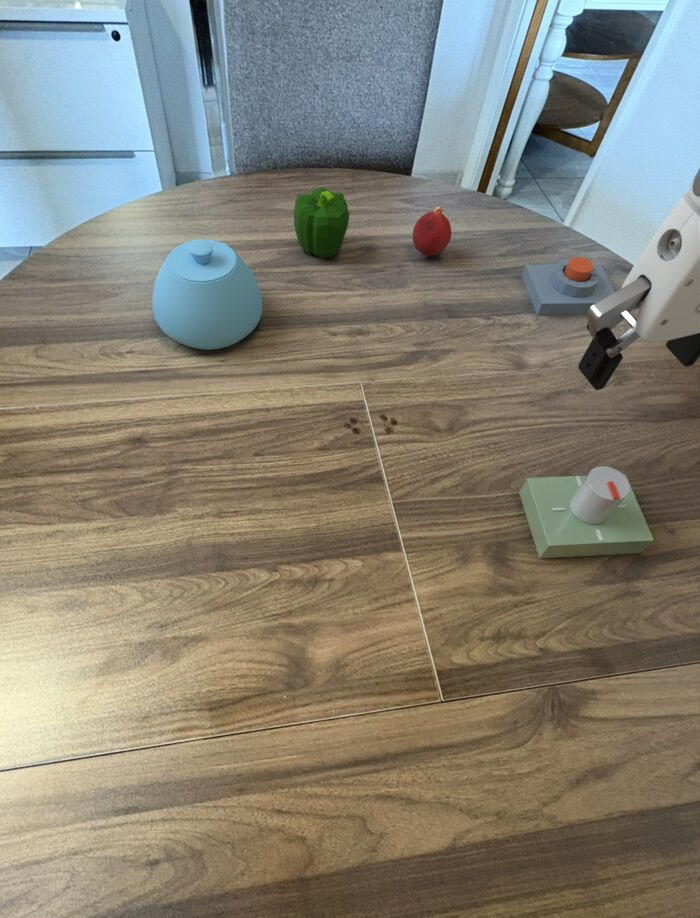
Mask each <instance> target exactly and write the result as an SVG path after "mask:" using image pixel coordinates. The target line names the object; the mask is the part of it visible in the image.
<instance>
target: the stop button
mask: <svg viewBox="0 0 700 918" xmlns="http://www.w3.org/2000/svg"><path fill="white" fill-rule="evenodd" d="M569 259H570V260H569V262H568V264H567V266H566V268H565V271H564V274H565V276H566V277H568V278H569V279H570V280H573V281H576V282H585V281H587V280H588V278H589V276H590V274H591V272H592V270H593V264H594V263H592V262H591V261H590V260H589V259H587V258H584V257H581V256H574V257H571V258H569Z"/></svg>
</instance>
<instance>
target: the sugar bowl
mask: <svg viewBox="0 0 700 918" xmlns="http://www.w3.org/2000/svg"><path fill="white" fill-rule="evenodd" d="M262 298H263V297H262V294H261V289H260V287H259V284H258V281H257V280H256V277H255V275H254V274H253V272H252V271H251V269H250V267H249V266H248V265H247V264H246V262H245V261H244V260H243V259H242V258H241V256H240V255H239V254H238V253H237V252H236V251H235V250H233V248H232V247H230V246H229V245H227V244H226V243H224V242H221V241H219V240H215V239H209V238H208V239H207V238H201V239H200V238H198V239H192V240H188V241H185V242H183V243H181V244H179V245H177V246H175V247H174V248H173V249H172V250H171V251H170V252H169V253H168V255H167V257H166V258H165V260H164V262H163V263H162V265H161V267H160V269H159V271H158V273H157V275H156V278H155V281H154V285H153V289H152V298H151V299H152V300H151V301H152V306H151V307H152V313H153V317H154V321H155V323H156V324H157V325H158V327H159V329H160V330H162V332H163V333H164V334H165V335H167V336H168V337H169V338H171V339H172V340H173V341H175V342H177V343H179V344H181V345H183V346H185V347H189V348H192V349H196V350H205V351H210V350H211V351H213V350H220V349H224V348H228V347H231V346H233V345H235V344H237V343H239V342H240V341H242V340H243V339H245V338H246V337H247V336H248V335H249V334H251V333H252V331H254V330H255V329H256V327H258V324H259V322H260V320H261V318H262V315H263V309H264V307H263V299H262Z"/></svg>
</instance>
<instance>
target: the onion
mask: <svg viewBox="0 0 700 918" xmlns="http://www.w3.org/2000/svg"><path fill="white" fill-rule="evenodd" d="M443 211H444V210H443V208H442V207H441V206H436V207H435V208H434V209H433V210H432V211H429V212H426V213H424V214H423V215H422V216H421V217H420V218H419V219H418V220H417V221H416V222H415V225H414V227H413V229H412V244H413V245H414V248H415V250H417V251H418V253H421V254H422V255H423V256H425V257H431V256H435V255H437V254H440V253H441V252H443V251H444V250H445V249H446V248H447V247H448V245H449V243H450V241H451V239H452V234H453V233H452V227H451V222H450V221H449V219H448V218H447V217H446V216H445V215H444V214H443Z"/></svg>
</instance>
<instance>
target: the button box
mask: <svg viewBox="0 0 700 918" xmlns="http://www.w3.org/2000/svg"><path fill="white" fill-rule="evenodd" d="M570 259H571V258H565V259H561V260H559V261H558V262H556V263H555V264H554V263H553V264H525V266H524V269H523V271H522V274H521V280H522V282H523V284H524V286H525V289H526V293H527V294H528V297H529V300H530V301H531V304H532V306H533V308H534V311H535V314H536V316H577V315H580V316H581V315H582V316H585V315H588V310H589V308H590V307H591V306H592V305H594V304H595V303H597V302H599V301H601V300H602V299H604V298H606V297H608V296H609V295H611V294H613V293H614V292H616V291H615V289H614V287H613V285H612V283H611V281H610V279H609V277H608V275H607V273H606V272H605V270H604V268H603V266H602V264H601V263H592V264H593V270H592V272H591V274H590V276H589V278H588V280H587V281H585V282H576V281H573V280H570V279H569V278H568V277H566V276H565V274H564V271H565V268H566V266H567V264H568V262H569V260H570Z"/></svg>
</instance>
